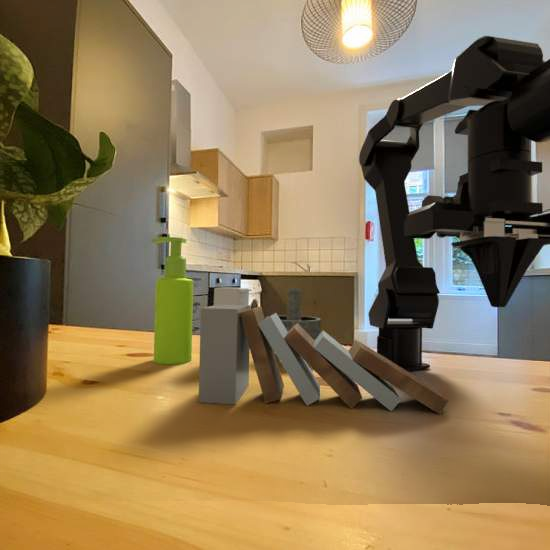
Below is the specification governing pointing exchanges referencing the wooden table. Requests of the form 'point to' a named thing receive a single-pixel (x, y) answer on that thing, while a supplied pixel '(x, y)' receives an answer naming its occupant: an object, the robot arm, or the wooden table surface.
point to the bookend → (223, 354)
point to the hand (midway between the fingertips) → (498, 307)
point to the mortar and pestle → (299, 316)
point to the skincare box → (231, 296)
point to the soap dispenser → (173, 308)
